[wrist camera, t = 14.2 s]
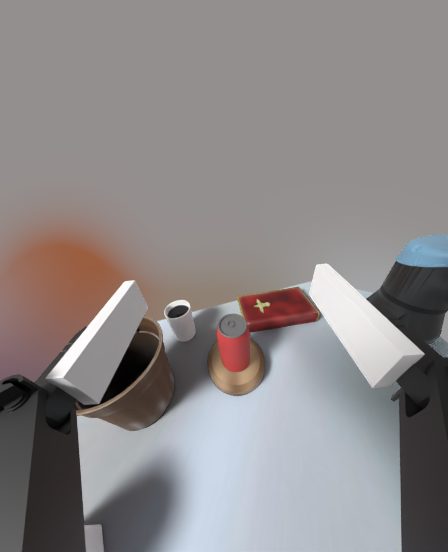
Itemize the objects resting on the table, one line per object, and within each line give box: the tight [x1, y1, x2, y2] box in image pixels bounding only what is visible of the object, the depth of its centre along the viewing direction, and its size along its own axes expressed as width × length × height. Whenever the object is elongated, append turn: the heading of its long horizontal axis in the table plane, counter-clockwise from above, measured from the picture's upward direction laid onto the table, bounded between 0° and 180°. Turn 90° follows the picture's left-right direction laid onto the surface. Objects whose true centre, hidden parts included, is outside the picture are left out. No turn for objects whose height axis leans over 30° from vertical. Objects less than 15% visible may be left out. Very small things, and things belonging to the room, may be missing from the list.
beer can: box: [217, 314, 250, 372], centre depth 34 cm, size 7×7×12 cm
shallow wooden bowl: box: [208, 338, 265, 396], centre depth 38 cm, size 13×13×3 cm
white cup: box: [164, 300, 196, 342], centre depth 45 cm, size 7×7×10 cm
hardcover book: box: [237, 287, 320, 332], centre depth 50 cm, size 12×21×4 cm, turn 97°
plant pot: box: [73, 316, 175, 431], centre depth 31 cm, size 16×16×16 cm
